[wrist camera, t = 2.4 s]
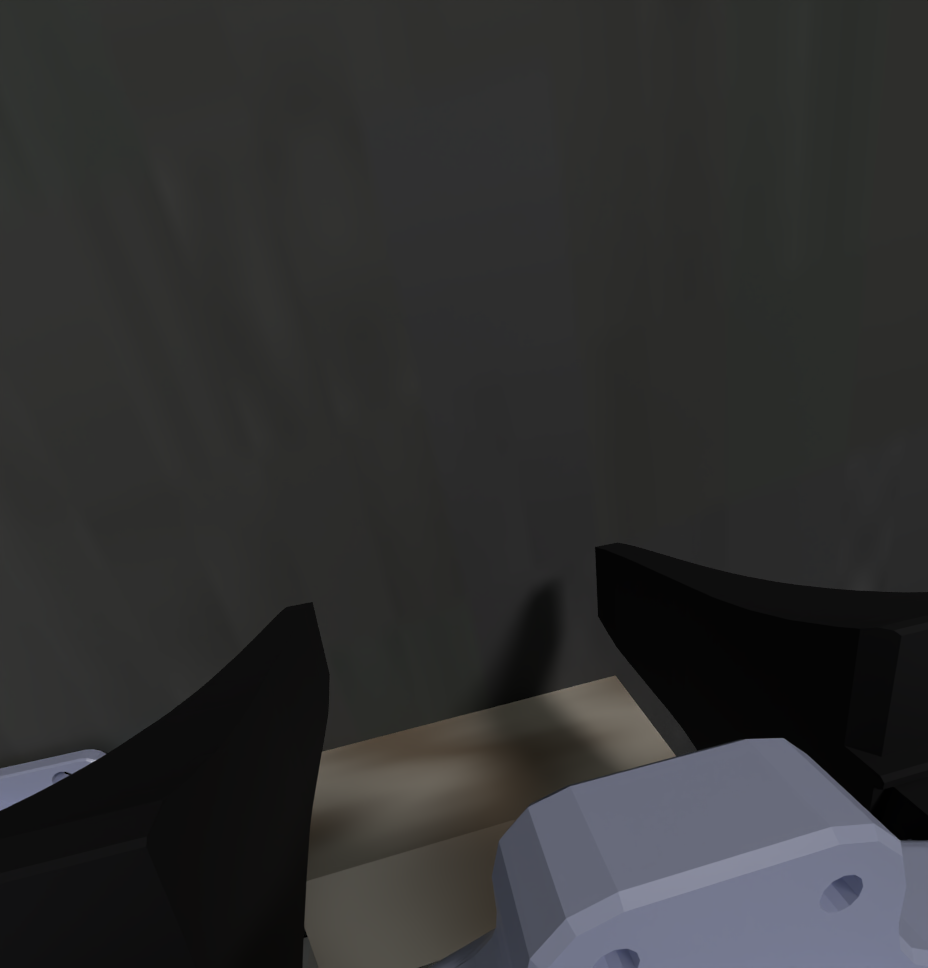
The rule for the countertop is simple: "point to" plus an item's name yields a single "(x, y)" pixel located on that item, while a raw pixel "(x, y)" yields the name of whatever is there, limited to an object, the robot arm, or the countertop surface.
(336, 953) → the slat block
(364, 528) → the countertop surface
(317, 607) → the countertop surface
